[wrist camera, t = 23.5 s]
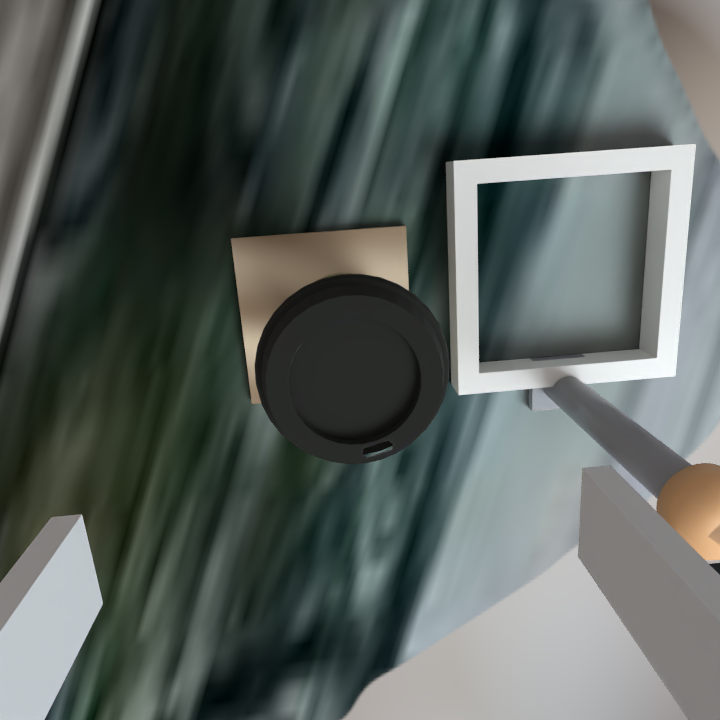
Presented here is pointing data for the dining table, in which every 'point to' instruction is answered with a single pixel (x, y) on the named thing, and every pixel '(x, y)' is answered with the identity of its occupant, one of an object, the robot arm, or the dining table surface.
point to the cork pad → (307, 271)
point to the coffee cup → (352, 368)
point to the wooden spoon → (694, 507)
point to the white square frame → (572, 372)
